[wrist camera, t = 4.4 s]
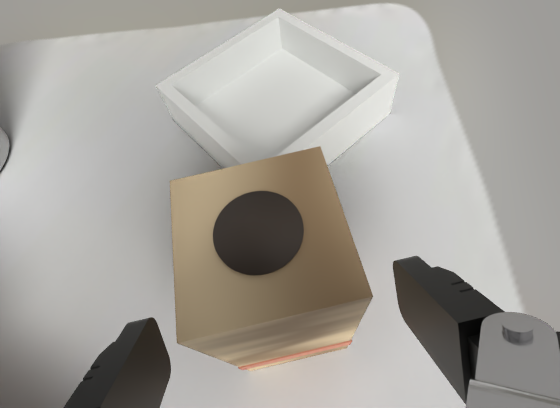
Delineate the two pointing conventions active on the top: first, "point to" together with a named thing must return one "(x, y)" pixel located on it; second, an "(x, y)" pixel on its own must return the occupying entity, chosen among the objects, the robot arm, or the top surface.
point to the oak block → (265, 262)
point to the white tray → (279, 93)
